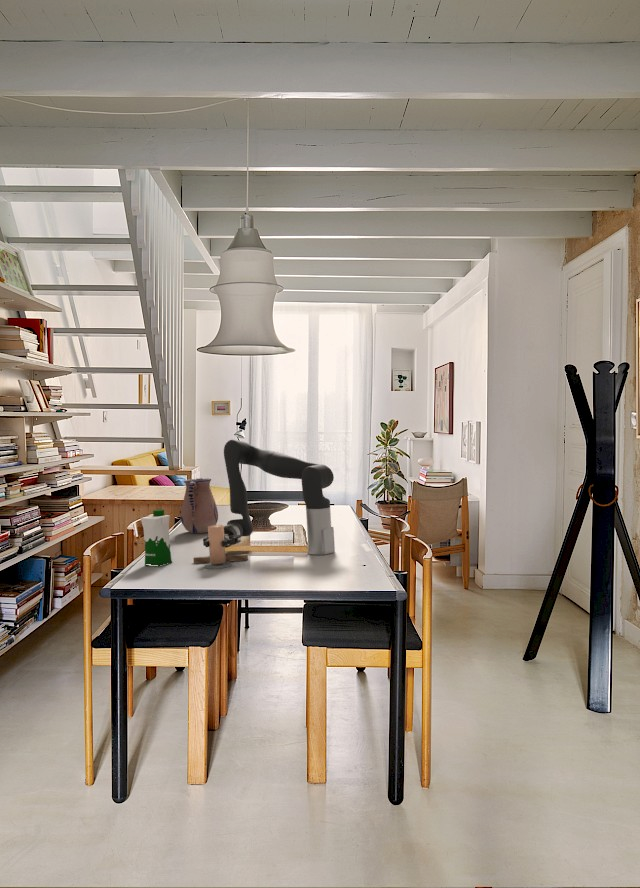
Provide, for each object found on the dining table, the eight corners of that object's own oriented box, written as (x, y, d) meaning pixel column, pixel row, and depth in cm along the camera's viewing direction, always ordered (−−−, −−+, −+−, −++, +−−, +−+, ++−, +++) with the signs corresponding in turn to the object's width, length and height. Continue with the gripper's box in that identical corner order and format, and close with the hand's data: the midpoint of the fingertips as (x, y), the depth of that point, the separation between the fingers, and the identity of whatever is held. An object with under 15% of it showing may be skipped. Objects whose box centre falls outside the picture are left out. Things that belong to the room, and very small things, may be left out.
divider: (248, 559, 268) (247, 554, 268) (247, 560, 267) (247, 554, 267) (194, 562, 268) (193, 557, 268) (193, 563, 267) (193, 558, 266)
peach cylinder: (229, 561, 260) (226, 525, 259) (217, 564, 256) (215, 528, 255) (218, 559, 264) (216, 524, 263) (206, 563, 259) (204, 527, 259)
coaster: (238, 564, 260) (238, 563, 260) (217, 570, 253) (217, 568, 253) (219, 561, 267) (218, 560, 267) (198, 567, 259) (198, 566, 259)
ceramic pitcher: (220, 527, 348) (217, 476, 347) (217, 535, 327) (213, 480, 326) (183, 530, 347) (180, 478, 346) (178, 537, 326) (174, 482, 325)
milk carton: (175, 562, 271) (171, 509, 270) (159, 567, 263) (155, 513, 262) (157, 561, 275) (153, 509, 274) (140, 566, 267) (137, 512, 266)
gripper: (209, 526, 274) (194, 534, 258) (245, 525, 272) (233, 533, 255) (210, 545, 275) (196, 555, 258) (247, 544, 272) (234, 554, 256)
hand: (214, 544), depth 257 cm, fingers closed on peach cylinder, 5 cm apart
